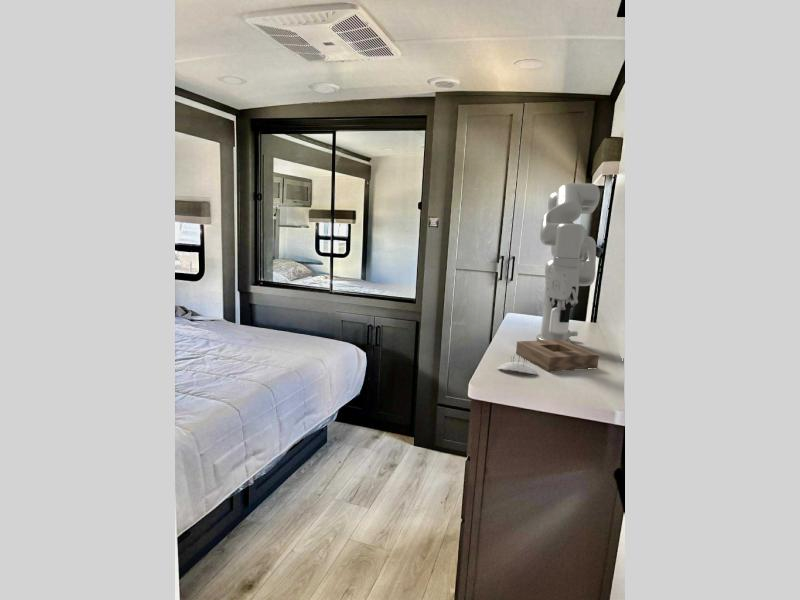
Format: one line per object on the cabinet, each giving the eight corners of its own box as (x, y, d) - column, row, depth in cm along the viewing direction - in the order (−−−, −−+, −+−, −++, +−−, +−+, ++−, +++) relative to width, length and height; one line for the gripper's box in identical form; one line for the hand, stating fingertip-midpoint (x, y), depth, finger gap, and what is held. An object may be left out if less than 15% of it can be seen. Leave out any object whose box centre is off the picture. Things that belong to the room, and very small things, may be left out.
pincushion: (495, 372, 132) (497, 354, 131) (497, 366, 138) (499, 349, 137) (537, 379, 128) (539, 360, 127) (538, 372, 134) (540, 354, 133)
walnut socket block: (560, 352, 157) (562, 339, 156) (597, 368, 140) (599, 354, 139) (515, 354, 151) (517, 341, 150) (548, 371, 134) (549, 357, 133)
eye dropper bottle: (566, 335, 140) (570, 298, 138) (547, 332, 143) (551, 295, 141) (568, 333, 144) (572, 296, 142) (550, 330, 147) (554, 294, 145)
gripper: (539, 260, 146) (534, 315, 149) (573, 265, 131) (566, 326, 134) (559, 261, 149) (553, 315, 152) (594, 266, 133) (587, 326, 136)
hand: (559, 320), depth 143 cm, fingers closed on eye dropper bottle, 3 cm apart
